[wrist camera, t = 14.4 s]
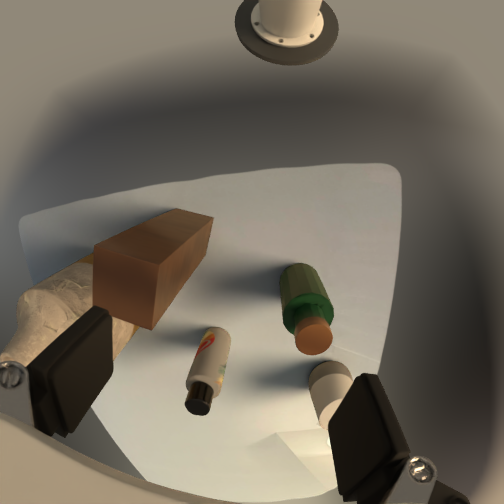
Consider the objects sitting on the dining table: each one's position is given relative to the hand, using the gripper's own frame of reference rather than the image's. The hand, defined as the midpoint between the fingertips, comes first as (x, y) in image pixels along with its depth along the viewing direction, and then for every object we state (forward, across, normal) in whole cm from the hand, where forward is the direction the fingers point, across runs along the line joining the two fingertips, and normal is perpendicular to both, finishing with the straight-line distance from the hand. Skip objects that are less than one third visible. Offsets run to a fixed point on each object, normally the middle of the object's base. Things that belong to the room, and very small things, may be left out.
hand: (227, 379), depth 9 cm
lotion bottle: (+40, +2, +26) cm, 48 cm away
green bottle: (+40, -10, +10) cm, 43 cm away
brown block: (+40, +11, +6) cm, 42 cm away
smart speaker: (+40, -23, +29) cm, 55 cm away
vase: (+40, +26, +23) cm, 53 cm away
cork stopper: (+26, -10, +10) cm, 30 cm away
